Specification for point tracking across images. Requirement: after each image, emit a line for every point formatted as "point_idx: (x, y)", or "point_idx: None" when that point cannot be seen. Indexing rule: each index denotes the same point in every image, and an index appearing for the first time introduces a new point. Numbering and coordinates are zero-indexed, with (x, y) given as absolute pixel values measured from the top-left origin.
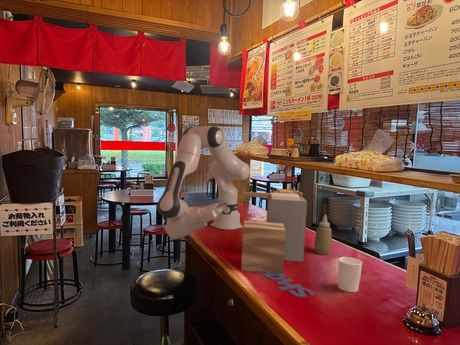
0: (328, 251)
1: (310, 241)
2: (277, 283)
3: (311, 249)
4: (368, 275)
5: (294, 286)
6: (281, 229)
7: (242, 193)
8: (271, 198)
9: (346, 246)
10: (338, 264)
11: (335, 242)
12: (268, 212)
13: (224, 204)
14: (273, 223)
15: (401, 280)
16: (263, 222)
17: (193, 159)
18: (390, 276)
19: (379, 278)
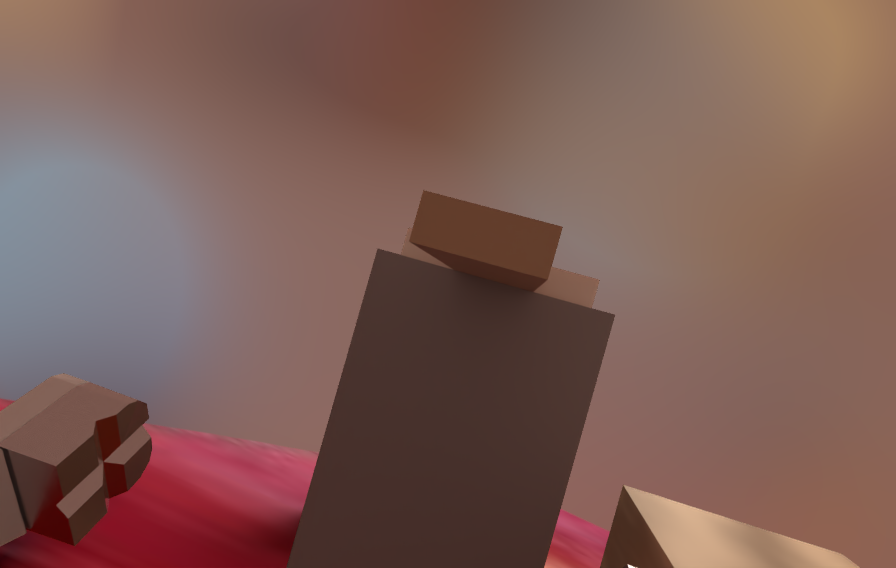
0: None
1: (165, 475)
2: None
3: (291, 530)
4: (585, 555)
5: None
6: (842, 561)
7: (558, 239)
8: (591, 304)
9: (282, 447)
10: None
11: (222, 440)
12: (581, 430)
13: (79, 482)
14: (675, 521)
15: (595, 525)
16: (687, 552)
17: None
18: (572, 524)
19: (601, 549)
